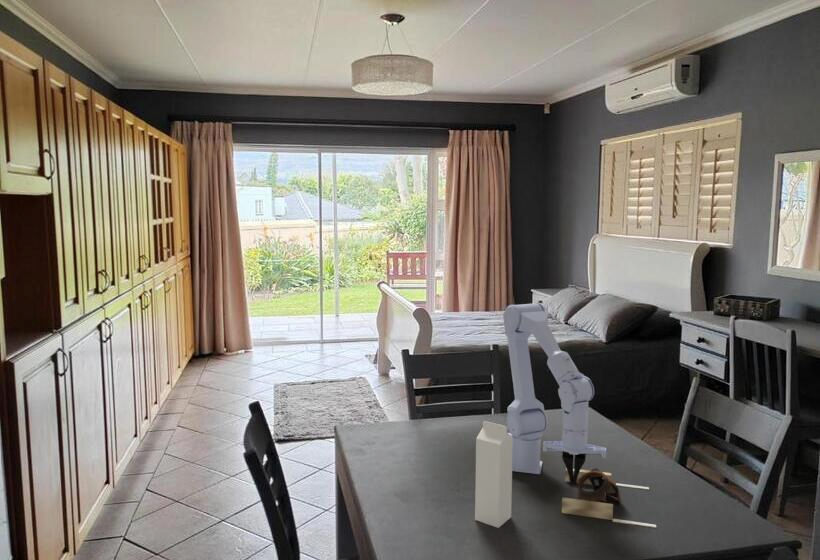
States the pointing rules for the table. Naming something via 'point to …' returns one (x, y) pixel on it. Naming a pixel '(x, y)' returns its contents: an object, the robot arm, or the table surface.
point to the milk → (493, 474)
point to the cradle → (586, 502)
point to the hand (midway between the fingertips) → (573, 482)
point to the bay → (632, 521)
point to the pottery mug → (598, 487)
